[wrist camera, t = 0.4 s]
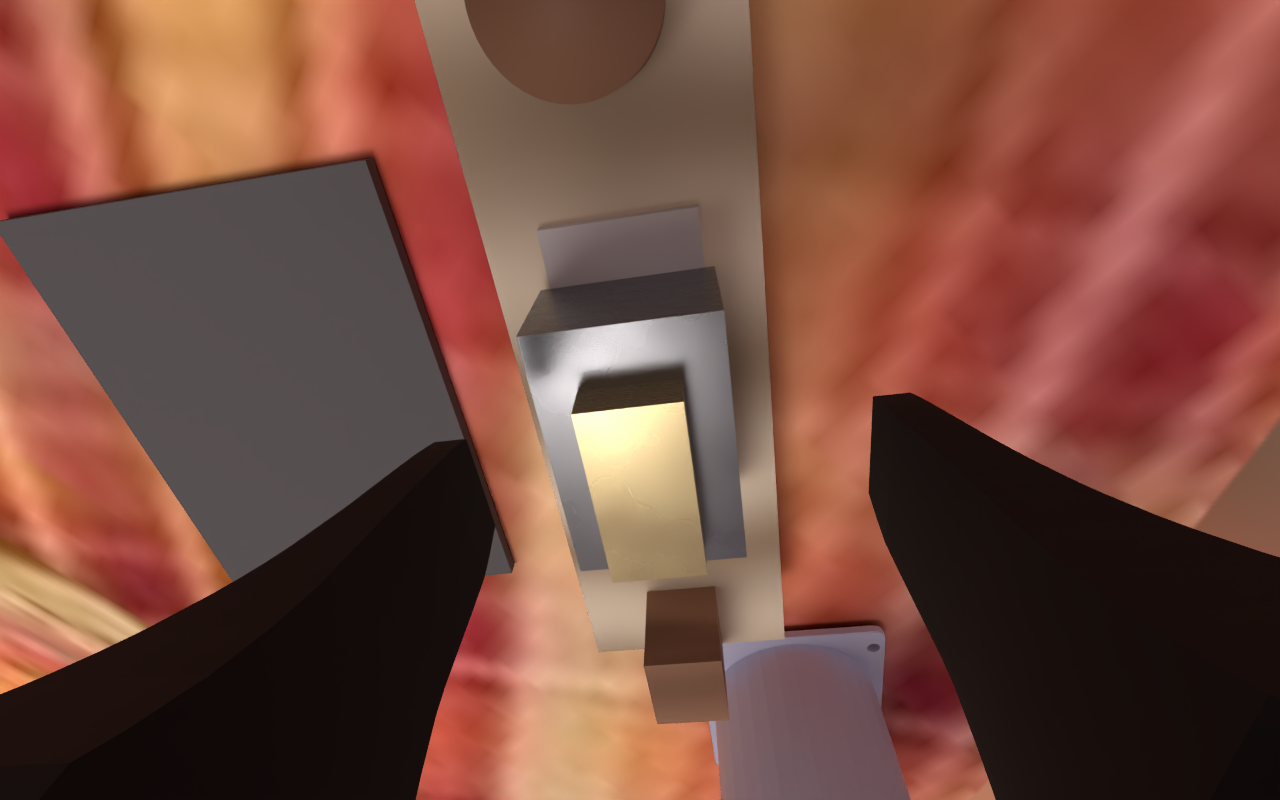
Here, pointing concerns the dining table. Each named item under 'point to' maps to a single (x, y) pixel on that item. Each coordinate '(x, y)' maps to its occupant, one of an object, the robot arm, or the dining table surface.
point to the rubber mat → (254, 345)
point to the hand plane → (629, 251)
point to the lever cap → (639, 421)
